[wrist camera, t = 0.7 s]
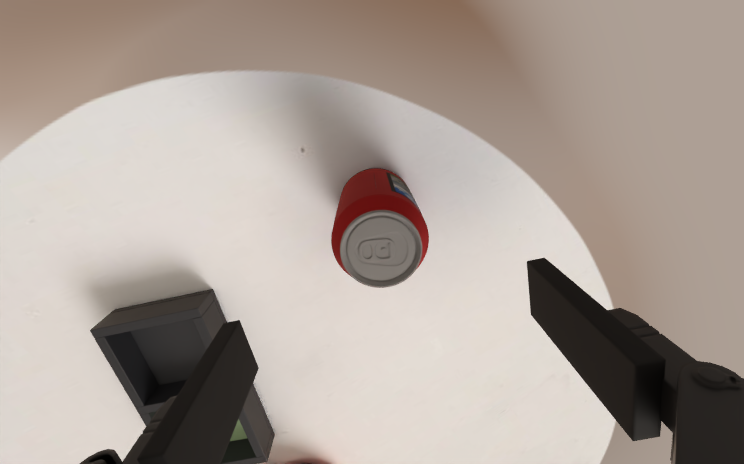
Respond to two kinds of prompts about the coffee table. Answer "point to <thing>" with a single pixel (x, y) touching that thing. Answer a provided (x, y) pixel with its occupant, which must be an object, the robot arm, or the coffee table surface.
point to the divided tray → (176, 362)
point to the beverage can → (378, 229)
